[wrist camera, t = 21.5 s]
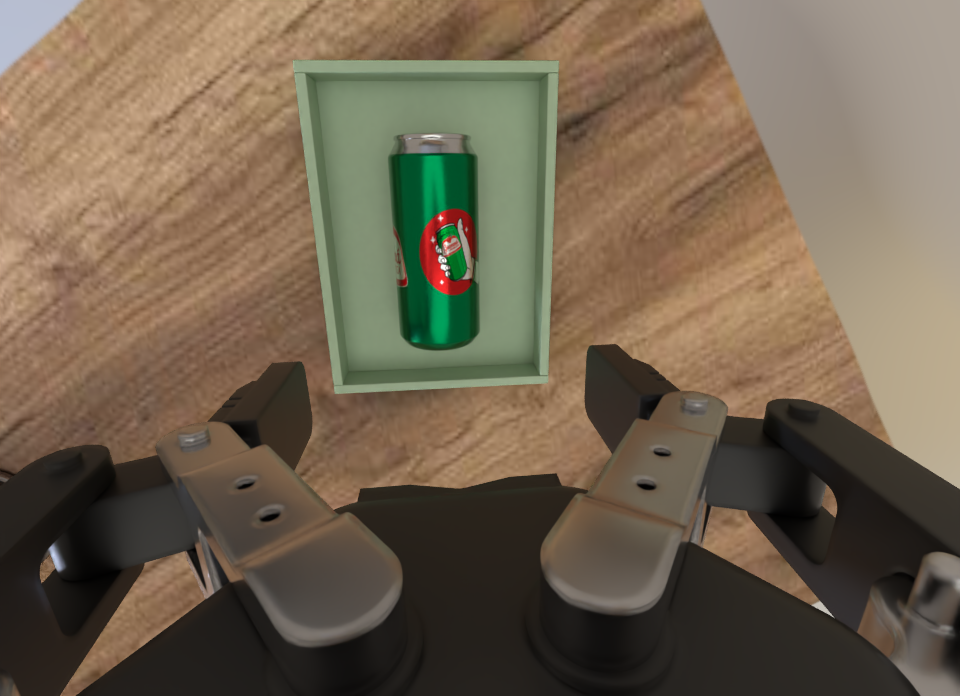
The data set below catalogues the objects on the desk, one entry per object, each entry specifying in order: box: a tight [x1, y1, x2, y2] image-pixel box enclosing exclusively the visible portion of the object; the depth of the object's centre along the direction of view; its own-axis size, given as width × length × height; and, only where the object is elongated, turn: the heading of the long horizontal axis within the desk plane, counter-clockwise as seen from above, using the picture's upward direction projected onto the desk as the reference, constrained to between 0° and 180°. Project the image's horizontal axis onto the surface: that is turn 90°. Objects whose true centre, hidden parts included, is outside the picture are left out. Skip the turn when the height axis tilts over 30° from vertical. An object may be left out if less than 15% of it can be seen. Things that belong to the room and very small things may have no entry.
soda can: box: [388, 133, 480, 351], centre depth 29 cm, size 5×5×12 cm
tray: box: [293, 60, 559, 394], centre depth 30 cm, size 19×14×3 cm
